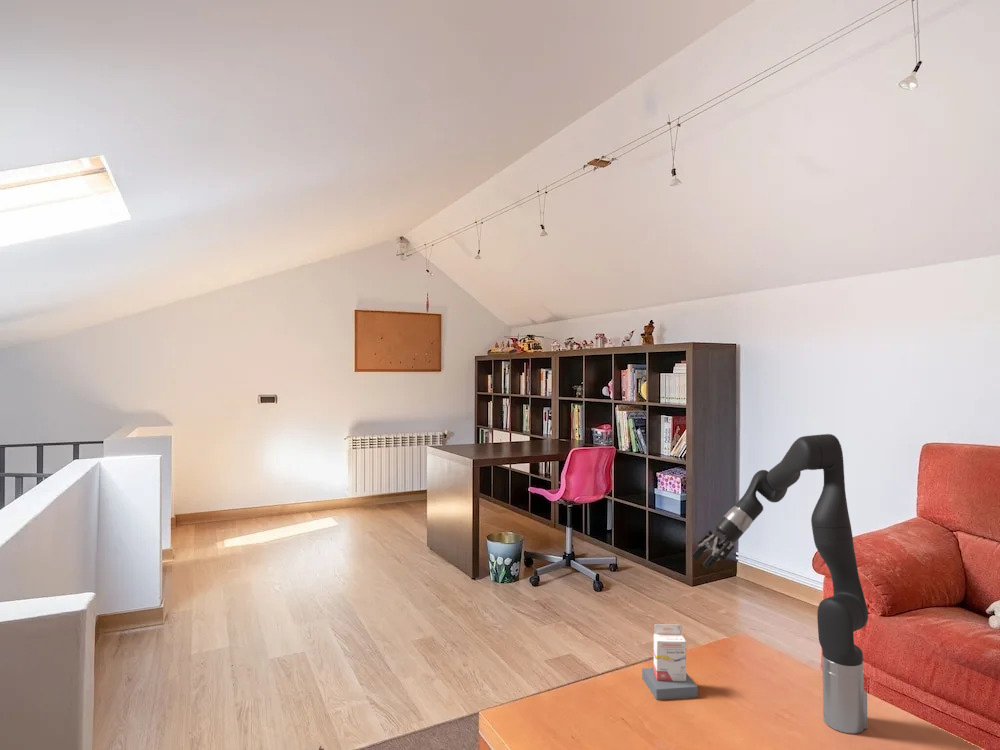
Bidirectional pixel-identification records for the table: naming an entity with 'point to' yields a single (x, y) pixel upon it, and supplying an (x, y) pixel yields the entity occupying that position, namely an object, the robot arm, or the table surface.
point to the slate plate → (669, 686)
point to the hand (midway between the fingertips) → (699, 562)
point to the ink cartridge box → (669, 653)
